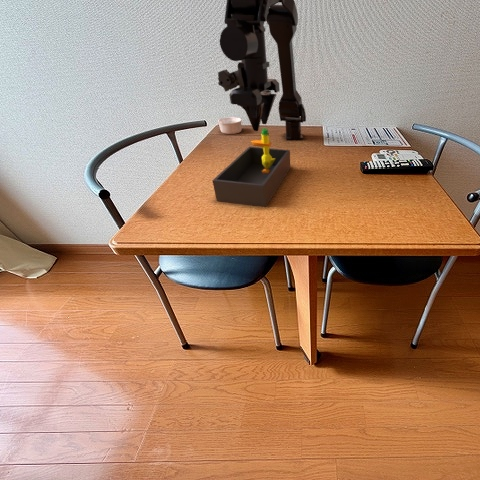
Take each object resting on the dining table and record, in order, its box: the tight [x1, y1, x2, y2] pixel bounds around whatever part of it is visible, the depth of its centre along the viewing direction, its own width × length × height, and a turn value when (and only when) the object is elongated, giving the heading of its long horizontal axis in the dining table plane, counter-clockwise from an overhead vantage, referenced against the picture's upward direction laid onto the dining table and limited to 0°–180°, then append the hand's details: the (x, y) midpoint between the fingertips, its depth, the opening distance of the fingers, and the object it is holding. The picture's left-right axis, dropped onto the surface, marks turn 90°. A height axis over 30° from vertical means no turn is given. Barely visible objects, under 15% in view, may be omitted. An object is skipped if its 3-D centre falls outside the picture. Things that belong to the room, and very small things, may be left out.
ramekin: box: [217, 116, 243, 135], centre depth 112 cm, size 9×9×4 cm
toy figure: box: [250, 128, 276, 173], centre depth 79 cm, size 7×4×12 cm, turn 80°
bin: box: [212, 146, 291, 208], centre depth 76 cm, size 23×12×6 cm, turn 170°
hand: (260, 127), depth 75 cm, fingers open, 6 cm apart
